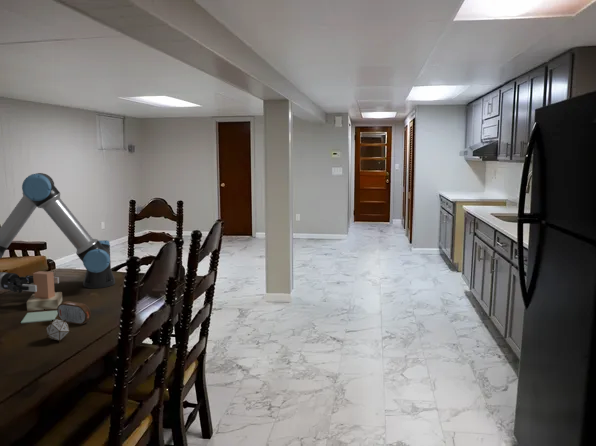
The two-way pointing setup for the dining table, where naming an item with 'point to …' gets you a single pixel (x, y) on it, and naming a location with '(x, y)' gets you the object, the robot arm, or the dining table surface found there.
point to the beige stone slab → (44, 302)
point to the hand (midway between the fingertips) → (47, 284)
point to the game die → (57, 329)
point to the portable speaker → (74, 312)
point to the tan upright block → (44, 284)
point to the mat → (40, 316)
